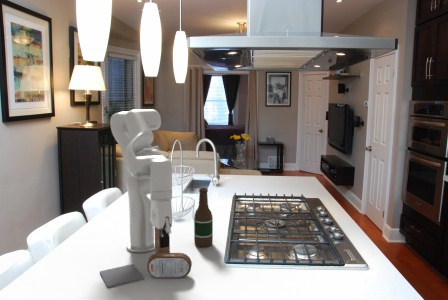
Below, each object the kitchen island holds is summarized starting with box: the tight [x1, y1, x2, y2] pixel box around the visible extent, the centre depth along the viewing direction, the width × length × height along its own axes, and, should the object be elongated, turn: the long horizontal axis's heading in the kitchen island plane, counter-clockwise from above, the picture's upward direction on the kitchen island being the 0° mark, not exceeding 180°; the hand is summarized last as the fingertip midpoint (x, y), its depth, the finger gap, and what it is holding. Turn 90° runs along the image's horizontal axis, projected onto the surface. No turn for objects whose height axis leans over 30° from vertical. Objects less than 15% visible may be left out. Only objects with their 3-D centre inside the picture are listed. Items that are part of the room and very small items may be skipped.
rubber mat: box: [99, 263, 145, 289], centre depth 125 cm, size 12×12×1 cm
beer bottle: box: [193, 187, 214, 249], centre depth 151 cm, size 8×8×24 cm
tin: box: [146, 252, 193, 279], centre depth 124 cm, size 15×3×8 cm, turn 92°
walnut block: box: [154, 226, 171, 254], centre depth 128 cm, size 4×4×11 cm
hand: (162, 244), depth 129 cm, fingers closed on walnut block, 4 cm apart
